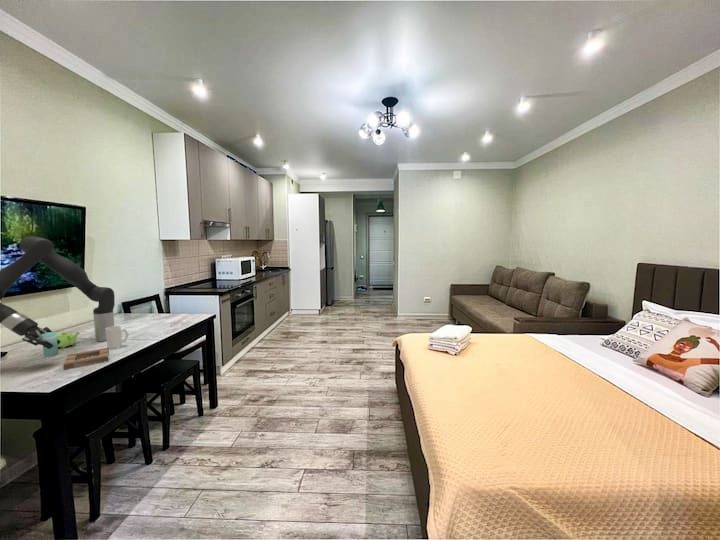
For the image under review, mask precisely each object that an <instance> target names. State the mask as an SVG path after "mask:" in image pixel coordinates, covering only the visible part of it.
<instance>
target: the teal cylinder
mask: <svg viewBox="0 0 720 540" xmlns="http://www.w3.org/2000/svg"><path fill="white" fill-rule="evenodd" d="M57 335H58V334H57V332H56V331H52V332H49V333H44V334H42V336H43V339H45V340H46V341H48V342H49V343H51V344H53V345H54V346H53V347H52V348H50V349H48V348H46V347H44V346H43V345H42V349H43V358H51V357H54V356H58V355H59V348H58V344H57Z"/></svg>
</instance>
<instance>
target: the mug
mask: <svg viewBox="0 0 720 540" xmlns="http://www.w3.org/2000/svg"><path fill="white" fill-rule="evenodd" d="M122 332H124V333H125V337H124V339H122ZM128 338H129V331H128V330H127V329H126V328H122V326H121V325H114V326H112V327H108V328H106V339H107V341H106V348H109V350H115V349H114V348H117V349H119V348H118V347H120V348H121V347H122V346H123V345H122V343H125V342H127V340H128Z"/></svg>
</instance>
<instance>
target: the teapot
mask: <svg viewBox="0 0 720 540" xmlns="http://www.w3.org/2000/svg"><path fill="white" fill-rule="evenodd" d="M56 335H57V339H58V340H60V341H61V342H60V343H59V344H58V347H59V348H61V349H66V348H65V347H68V346H70V345H73V344H75V343H76V342H77V337H78V336H79V335H80V332H78V331H76V332H75V334H73V333H71V332H67V331H64V332H61V333H59V334H56ZM73 346H74V345H73Z"/></svg>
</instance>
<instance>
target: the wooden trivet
mask: <svg viewBox="0 0 720 540" xmlns="http://www.w3.org/2000/svg"><path fill="white" fill-rule="evenodd" d="M109 354H110V349H109V348H107V347H105V348H104V347H103V348H97V349H94V350H87V351H86V350H85V351H81V352H76V353H75V352H74V353H70V354H67V355H66V358H65V359H64V362H63V367H62V368H63V371H65V370H70V368H71V369H76V368H81V367H85V365H86V366H90V365H89V364H92V365H95V364H94V363H97V364H100V363H99V362H102V363H105V362H104V361H107V362H109V358H108V356H109V357H110V355H109ZM97 355H99V356H97ZM91 356H94V357H91ZM87 357H89V358H87ZM81 358H83V359H81ZM77 359H78V360H77ZM80 366H81V367H80ZM75 367H76V368H75Z"/></svg>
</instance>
